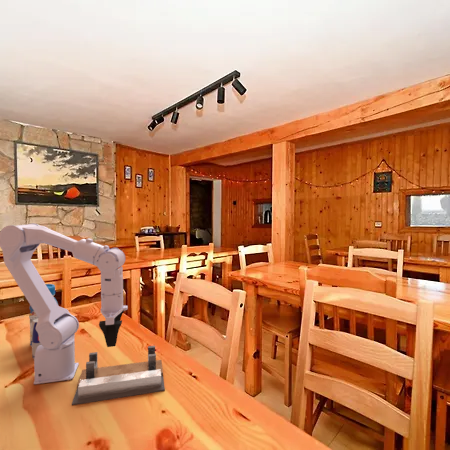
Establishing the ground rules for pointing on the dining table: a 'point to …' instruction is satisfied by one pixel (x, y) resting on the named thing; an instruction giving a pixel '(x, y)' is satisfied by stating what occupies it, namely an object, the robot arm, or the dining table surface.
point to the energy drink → (34, 337)
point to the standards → (120, 367)
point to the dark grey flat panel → (117, 394)
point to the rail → (119, 383)
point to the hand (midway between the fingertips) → (112, 339)
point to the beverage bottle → (33, 314)
